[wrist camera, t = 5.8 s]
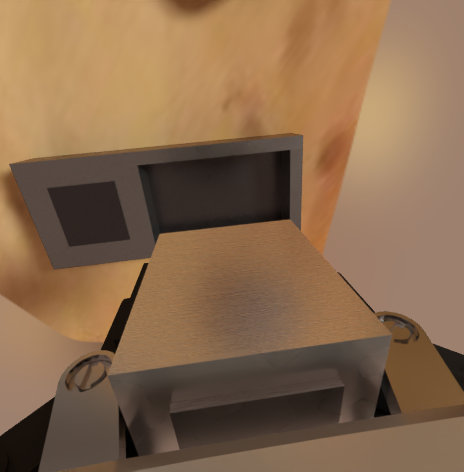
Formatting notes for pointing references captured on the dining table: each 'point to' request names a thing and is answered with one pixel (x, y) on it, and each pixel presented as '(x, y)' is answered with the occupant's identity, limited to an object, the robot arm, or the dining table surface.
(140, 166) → the grey tray with recess
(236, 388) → the gray cube
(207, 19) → the dining table surface
